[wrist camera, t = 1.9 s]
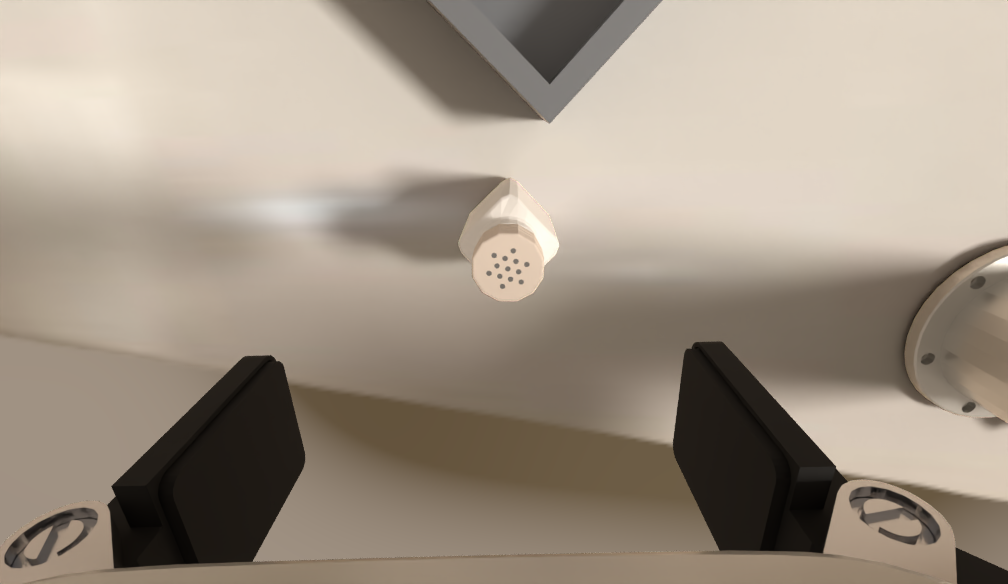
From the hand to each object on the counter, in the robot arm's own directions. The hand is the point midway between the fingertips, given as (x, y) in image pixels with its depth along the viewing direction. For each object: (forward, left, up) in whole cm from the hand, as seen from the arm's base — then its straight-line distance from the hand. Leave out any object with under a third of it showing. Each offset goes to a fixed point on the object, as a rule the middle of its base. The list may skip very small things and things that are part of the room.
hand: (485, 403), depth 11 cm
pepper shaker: (0, 0, -20) cm, 20 cm away
